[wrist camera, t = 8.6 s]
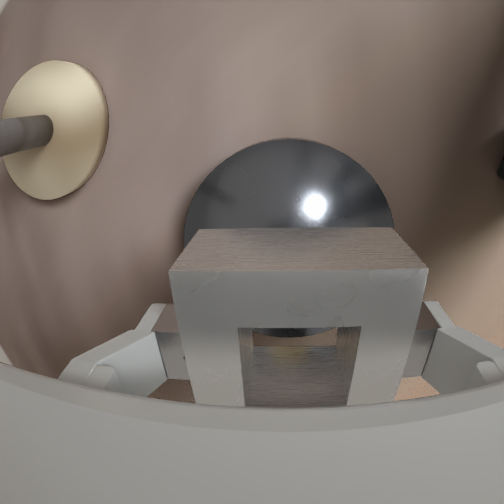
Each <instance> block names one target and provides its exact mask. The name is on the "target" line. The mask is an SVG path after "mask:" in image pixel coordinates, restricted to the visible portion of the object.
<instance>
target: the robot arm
mask: <svg viewBox="0 0 504 504" xmlns="http://www.w3.org/2000/svg"><path fill="white" fill-rule="evenodd" d="M415 376H422V378H423V379H424V380H426V381H427V382H428V383H429V384H430V385H431V386H433V387H434V388H435V389H436V390H437V391H438V392H440V393H441V394H440V395H434V396H428V397H422V398H415V399H408V400H400V401H392V402H383V403H373V404H362V405H349V406H332V407H302V408H271V407H240V406H223V405H209V404H198V403H188V402H179V401H170V400H162V399H155V398H148V397H147V396H148V395H150V394H151V393H152V392H153V391H154V390H156V389H157V388H158V387H159V386H160V385H162V384H163V383H164V382H165V381H166V380H167V378H169V379H182V380H190V378H189V373H188V369H187V365H186V360H185V356H184V351H183V347H182V342H181V337H180V332H179V327H178V322H177V317H176V312H175V307H174V304H167V303H154V304H151V306H150V307H149V309H148V310H147V312H146V313H145V315H144V316H143V318H142V319H141V321H140V322H139V324H138V325H137V327H136V328H135V330H129V331H127V332H125V333H123V334H121V335H119V336H117V337H115V338H113V339H111V340H109V341H107V342H105V343H103V344H101V345H99V346H97V347H95V348H93V349H91V350H89V351H87V352H85V353H83V354H81V355H79V356H77V357H75V358H73V359H72V360H71V361H70V362H69V364H68V365H67V366H66V368H65V369H64V370H63V372H62V373H61V374H60V376H59V377H58V379H55V378H51V377H48V376H44V375H40V374H37V373H33V372H30V371H27V370H23V369H20V368H17V367H14V366H11V365H8V364H5V363H2V362H0V504H504V349H502V348H500V347H499V346H497V345H495V344H493V343H491V342H489V341H487V340H485V339H483V338H481V337H479V336H477V335H475V334H473V333H471V332H469V331H467V330H465V329H463V328H461V327H460V326H458V327H455V325H454V324H453V323H452V321H451V320H450V318H449V317H448V315H447V314H446V313H445V311H444V310H443V308H442V307H441V306H440V304H439V303H438V302H437V301H435V300H431V301H422V304H421V309H420V313H419V317H418V321H417V325H416V329H415V333H414V337H413V341H412V344H411V348H410V351H409V355H408V358H407V362H406V365H405V368H404V371H403V375H402V378H405V377H415Z"/></svg>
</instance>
